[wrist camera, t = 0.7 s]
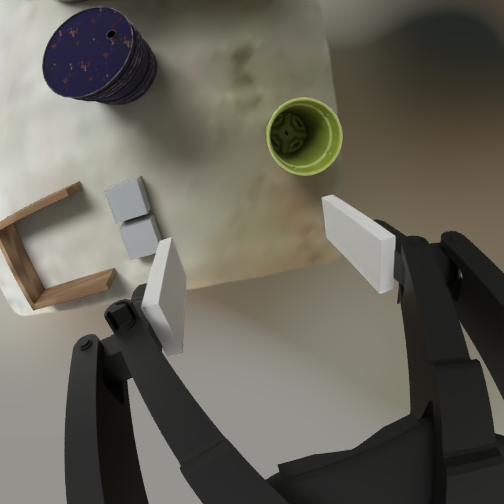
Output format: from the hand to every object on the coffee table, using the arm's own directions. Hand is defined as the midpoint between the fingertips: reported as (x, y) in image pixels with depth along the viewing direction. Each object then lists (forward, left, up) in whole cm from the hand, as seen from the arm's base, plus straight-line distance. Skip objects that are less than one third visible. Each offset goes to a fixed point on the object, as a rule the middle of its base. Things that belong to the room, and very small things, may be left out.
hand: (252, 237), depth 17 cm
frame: (+3, -29, -25) cm, 39 cm away
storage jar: (-18, -10, -26) cm, 33 cm away
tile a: (0, -14, -26) cm, 29 cm away
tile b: (+6, -14, -26) cm, 30 cm away
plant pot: (-3, +10, -26) cm, 28 cm away
